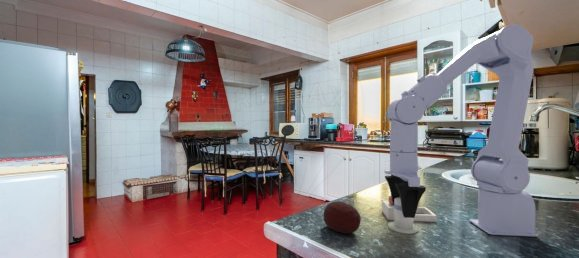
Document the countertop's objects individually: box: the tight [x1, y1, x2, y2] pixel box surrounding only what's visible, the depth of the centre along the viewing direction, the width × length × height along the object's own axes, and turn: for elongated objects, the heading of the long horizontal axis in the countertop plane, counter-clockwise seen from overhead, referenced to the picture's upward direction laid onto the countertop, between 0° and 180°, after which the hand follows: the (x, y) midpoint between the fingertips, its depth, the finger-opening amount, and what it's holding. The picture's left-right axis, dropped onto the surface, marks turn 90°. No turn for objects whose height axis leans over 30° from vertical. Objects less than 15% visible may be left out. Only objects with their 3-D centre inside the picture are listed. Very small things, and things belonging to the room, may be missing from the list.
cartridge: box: [393, 197, 414, 230], centre depth 59 cm, size 4×4×6 cm
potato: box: [323, 200, 362, 234], centre depth 58 cm, size 7×10×6 cm
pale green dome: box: [387, 220, 420, 235], centre depth 59 cm, size 6×6×1 cm
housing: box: [381, 199, 437, 223], centre depth 66 cm, size 11×6×3 cm, turn 83°
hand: (403, 211), depth 59 cm, fingers open, 7 cm apart
